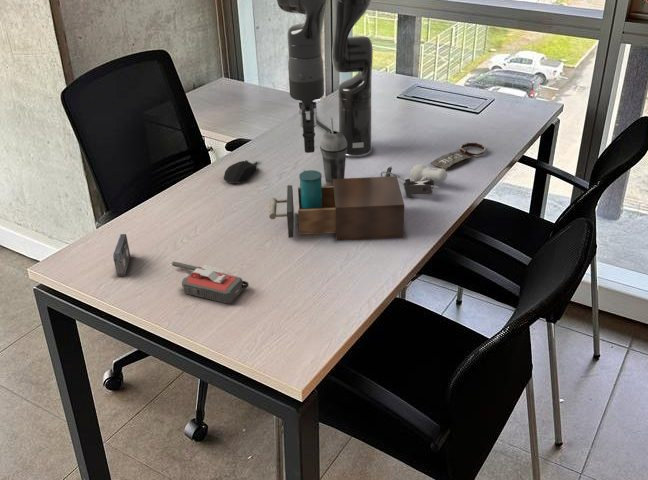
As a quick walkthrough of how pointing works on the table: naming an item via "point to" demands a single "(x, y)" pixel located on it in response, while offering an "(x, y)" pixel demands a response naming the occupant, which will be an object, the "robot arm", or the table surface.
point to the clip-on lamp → (421, 179)
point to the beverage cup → (333, 155)
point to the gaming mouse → (239, 172)
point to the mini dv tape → (121, 255)
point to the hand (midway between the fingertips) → (309, 144)
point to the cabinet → (368, 208)
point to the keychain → (458, 156)
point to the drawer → (308, 213)
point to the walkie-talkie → (211, 283)
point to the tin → (311, 189)
